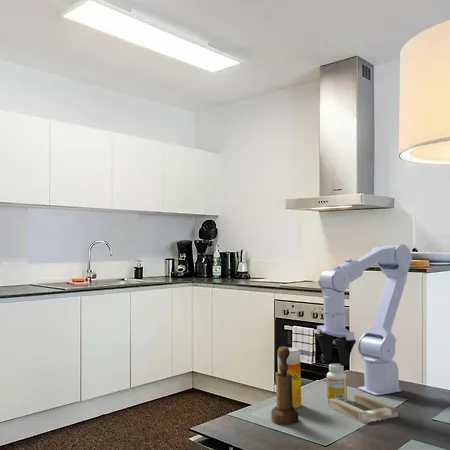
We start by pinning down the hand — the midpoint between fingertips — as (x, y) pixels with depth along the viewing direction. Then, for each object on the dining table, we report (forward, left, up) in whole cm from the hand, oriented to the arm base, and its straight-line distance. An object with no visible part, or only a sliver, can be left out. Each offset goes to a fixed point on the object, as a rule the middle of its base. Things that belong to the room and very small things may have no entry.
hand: (335, 362), depth 137 cm
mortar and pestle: (+21, +7, -11) cm, 25 cm away
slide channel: (0, +10, -10) cm, 15 cm away
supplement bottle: (0, 0, -11) cm, 11 cm away
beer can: (+14, -2, -11) cm, 18 cm away
